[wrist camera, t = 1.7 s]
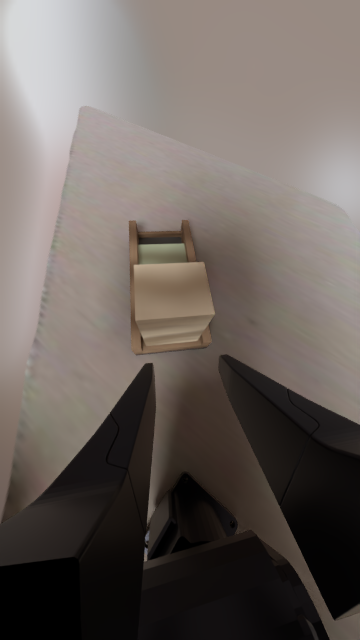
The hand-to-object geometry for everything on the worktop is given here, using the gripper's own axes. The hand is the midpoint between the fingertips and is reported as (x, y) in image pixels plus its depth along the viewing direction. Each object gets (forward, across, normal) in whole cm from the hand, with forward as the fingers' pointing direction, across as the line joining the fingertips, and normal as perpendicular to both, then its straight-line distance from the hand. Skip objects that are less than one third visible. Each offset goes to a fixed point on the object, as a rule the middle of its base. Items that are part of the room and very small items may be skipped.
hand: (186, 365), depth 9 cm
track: (+18, 0, 0) cm, 18 cm away
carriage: (+12, 0, +3) cm, 12 cm away
